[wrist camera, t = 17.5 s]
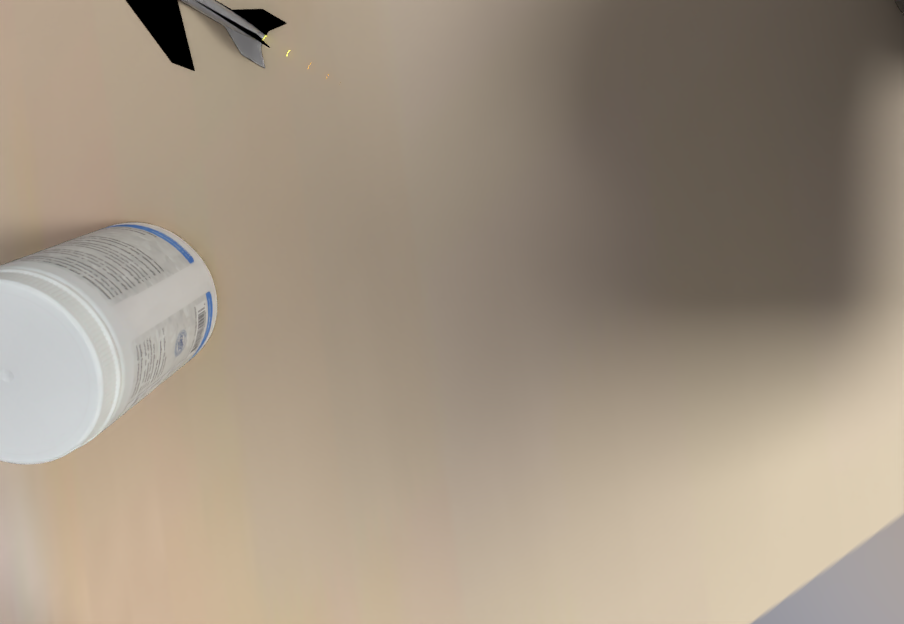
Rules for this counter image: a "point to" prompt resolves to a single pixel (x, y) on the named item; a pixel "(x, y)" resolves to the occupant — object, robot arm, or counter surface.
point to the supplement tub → (94, 333)
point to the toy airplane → (245, 26)
